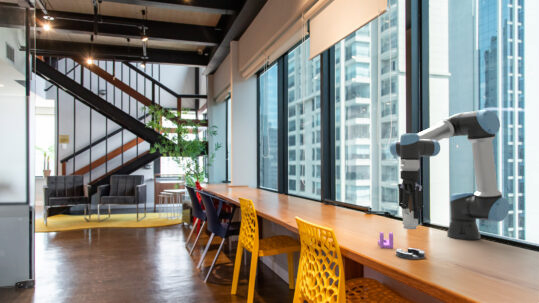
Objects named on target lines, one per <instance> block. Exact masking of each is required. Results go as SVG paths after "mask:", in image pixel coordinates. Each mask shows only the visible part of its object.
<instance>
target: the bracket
mask: <svg viewBox="0 0 539 303" xmlns="http://www.w3.org/2000/svg"><path fill="white" fill-rule="evenodd" d="M384 236H385V234H384V232H383V231H380V232H379V239H378V240H377V243H378V245H379V248H380V249H394V233H393V232H388V239H385V237H384Z"/></svg>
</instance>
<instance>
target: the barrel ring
mask: <svg viewBox="0 0 539 303" xmlns="http://www.w3.org/2000/svg"><path fill="white" fill-rule="evenodd" d="M395 255H396V256H397V257H398V258H402V259H406V260H422V259H425V256H426V251H424V250H422V249H419V248H415V247H414V248H413V247H408V248H407V251H406V250H404V251H403V249H402V248H396V249H395Z"/></svg>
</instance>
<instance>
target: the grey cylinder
mask: <svg viewBox="0 0 539 303" xmlns="http://www.w3.org/2000/svg"><path fill="white" fill-rule="evenodd" d="M403 229H407V230H417V227H411V212H409V213H404V224H403Z"/></svg>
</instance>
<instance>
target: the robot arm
mask: <svg viewBox="0 0 539 303" xmlns="http://www.w3.org/2000/svg"><path fill="white" fill-rule="evenodd" d="M500 128H501V122H500V119H499V116H498V115H497V114H496V112H494V111H493V110H491V109H480V110H475V111H473V110H472V111H466V112H465V111H464V112H459V113H455V114H453V115H451V116H449V117H446V118H444V119H442V120H439V121H438V122H437V124H436V125H434V126H431V127H429V128H427V129H424V130H422V131H420V132H418V133H403V134H401V135H400V140H396V141H393V142H391V144H390V147H389V151H390V154H391V156H393V157H396V158H398V157H399V158H400V169H401V170H400V171H399V172H400V173H399V174H400V179H401V180H402V183H398V184H397V187H398V207H400V208H401V210H402V212H401V213H402V214H401V215H402V225H404V213H411V227H416V228H417V227H419V219H420V218H419V216H420V215H419V211H423V190H424V185H420V184H419V181H418V180H420V178H421V177H420V175H421V174H420V168H421V166H420V157H436V156H437V155H439V153H440V152H441V144H440V142H439V141H441V140H444V139H449V138H452V137H458V136H460V137H463V136H467V137H466V138H467V141H469V142H470V143H471V149H472V157H473V166H474V175H475V183H476V185H475V186H476V191H475V192H460V193H459V192H458V193H457V192H456V193H451V194H450V198H449V200H450V201H449V203H450V205H449V206H450V222H449V226H448V229H447V232H446V234H447V237H450V238H451V239H458V240H467V241H475V240H480V239H481V233H480V232H479V227H478V225H477V220H483V221H489V222H497V223H498V222H502V221H504V220H505V219H506V218H507V217H508V214H509V212H510V203H509V200H508V199H507V198H505V197H503V194H502V193H503V192H501V191H500V190H499V189H498V182H497V181H498V180H497V171H496V162H495V155H494V145H493V140H494V139H495V138H496V134H497V133H499V131H500ZM409 202H410V203H411V208H412V209H411V210H410V207H409ZM410 211H411V212H410Z"/></svg>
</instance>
